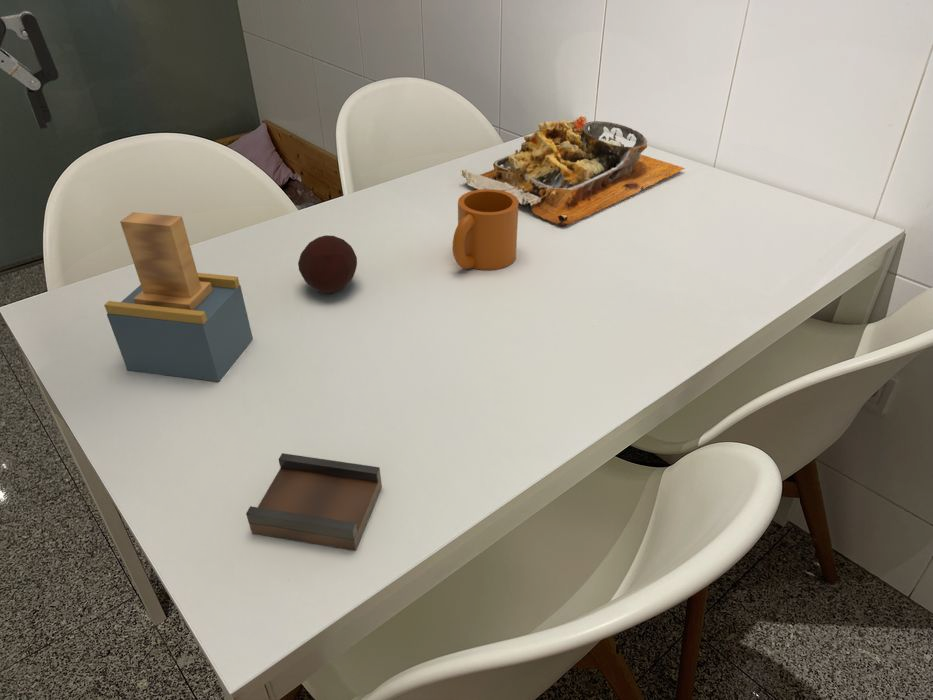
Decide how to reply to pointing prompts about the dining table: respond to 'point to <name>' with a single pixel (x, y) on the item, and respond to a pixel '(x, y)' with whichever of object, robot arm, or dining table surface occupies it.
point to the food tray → (573, 170)
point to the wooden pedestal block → (164, 261)
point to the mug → (486, 230)
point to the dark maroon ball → (328, 264)
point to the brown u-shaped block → (317, 502)
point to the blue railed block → (184, 332)
